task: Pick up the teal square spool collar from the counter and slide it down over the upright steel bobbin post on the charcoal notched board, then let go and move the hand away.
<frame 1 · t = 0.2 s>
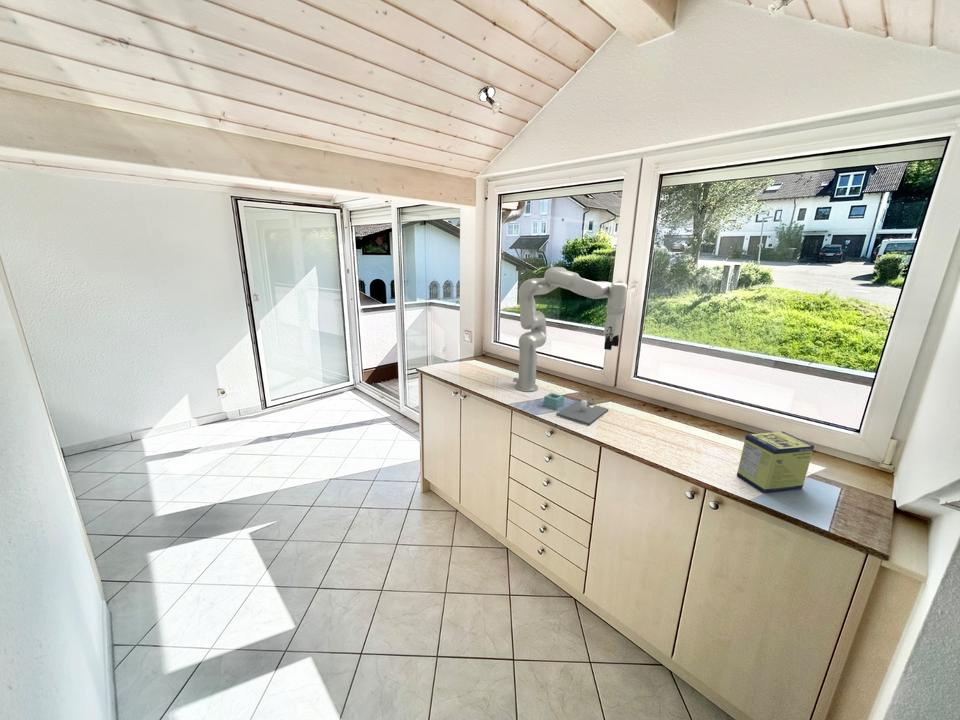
hand: (611, 347, 174), 31 cm above the worktop, tool pointing down, fingers open, 9 cm apart
spool collar: (553, 405, 185), on the worktop
protein box: (768, 482, 124), on the worktop
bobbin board: (582, 413, 176), on the worktop
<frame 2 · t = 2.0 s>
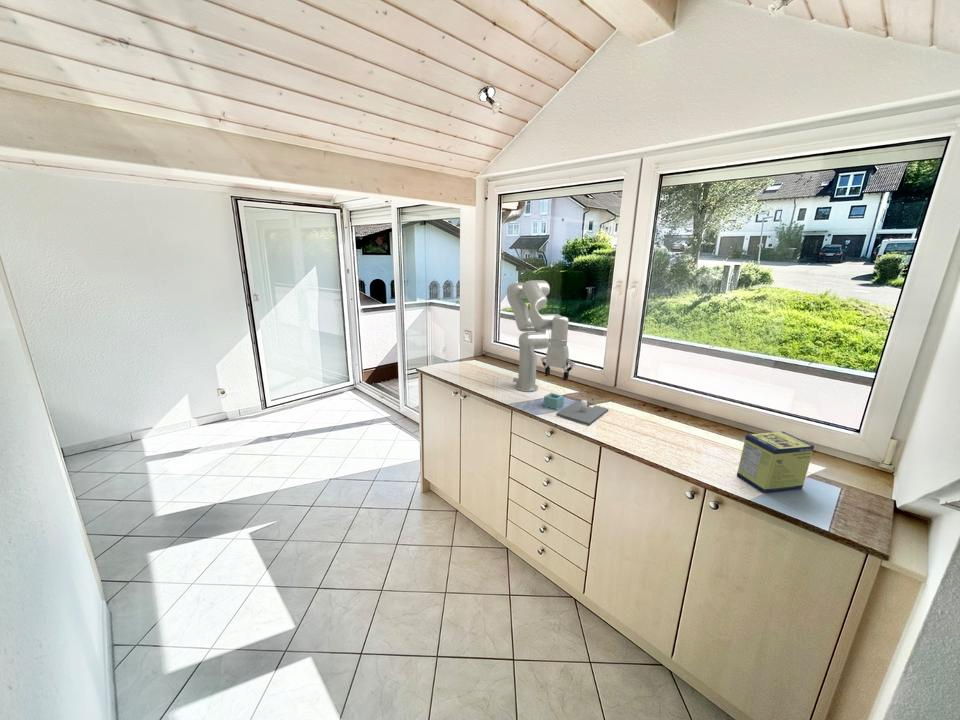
hand: (556, 377, 180), 15 cm above the worktop, tool pointing down, fingers open, 9 cm apart
nothing on the worktop moved.
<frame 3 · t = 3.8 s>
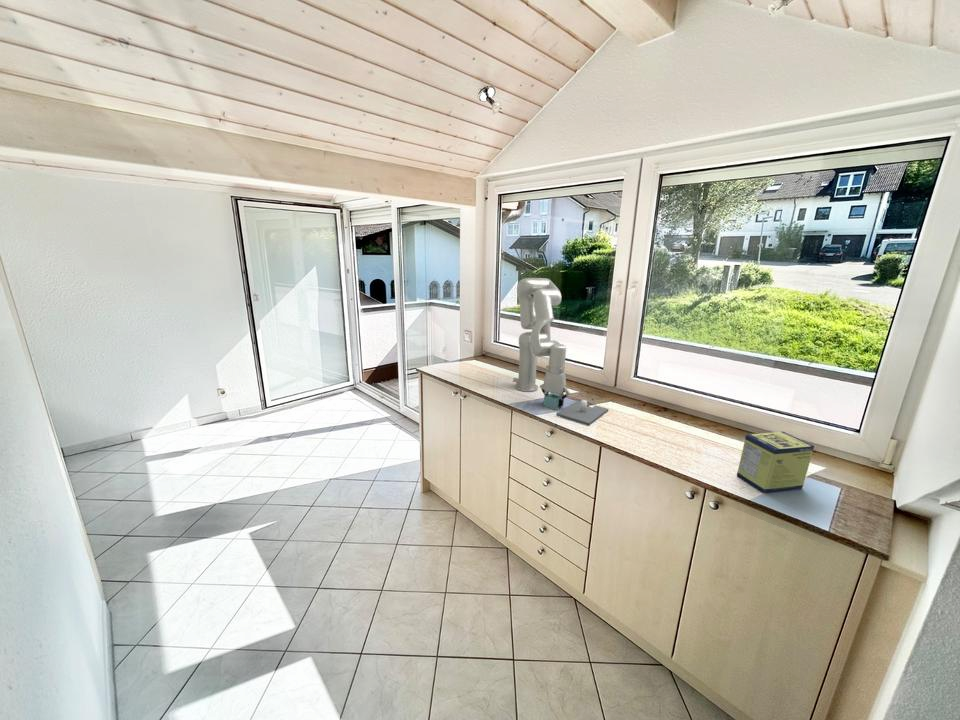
hand: (553, 404, 184), 1 cm above the worktop, tool pointing down, fingers closed on spool collar, 7 cm apart
spool collar: (553, 405, 185), on the worktop, touching gripper
everything else where it was.
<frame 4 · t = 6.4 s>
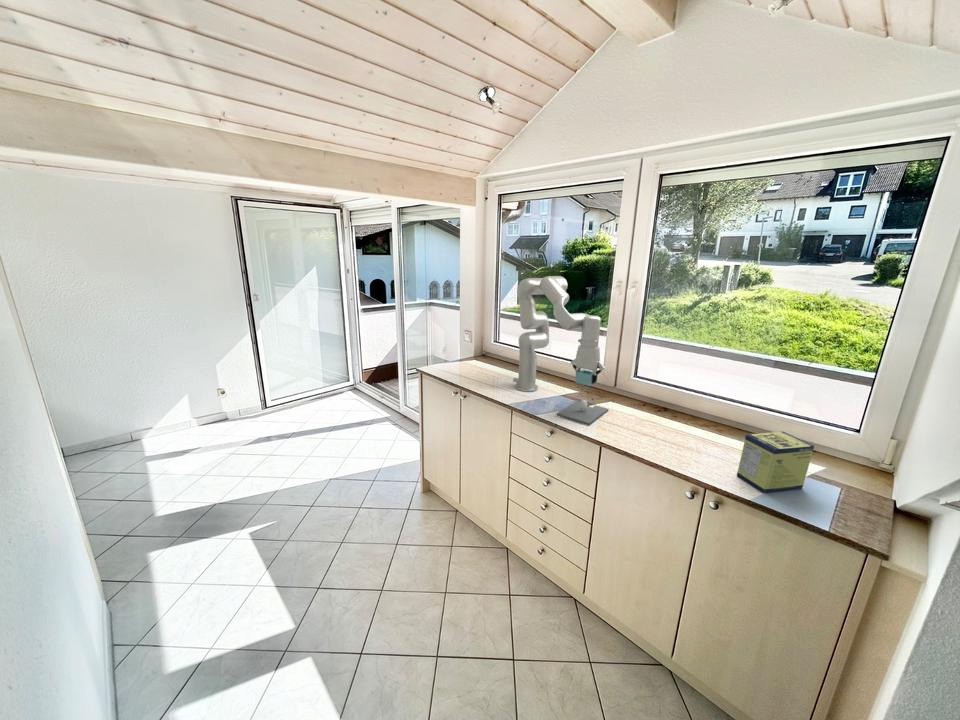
hand: (585, 381, 172), 16 cm above the worktop, tool pointing down, fingers closed on spool collar, 7 cm apart
spool collar: (585, 382, 172), point 15 cm above the worktop, touching gripper
everything else where it was.
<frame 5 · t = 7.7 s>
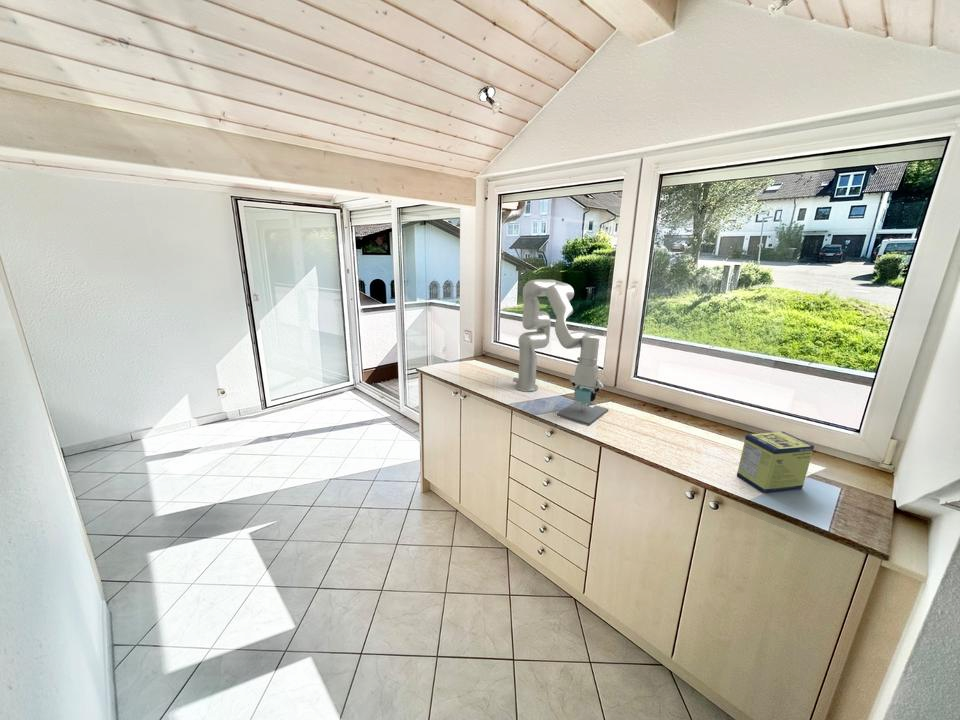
hand: (584, 398, 174), 8 cm above the worktop, tool pointing down, fingers closed on spool collar, 7 cm apart
spool collar: (584, 399, 174), point 7 cm above the worktop, touching gripper
everything else where it was.
when the fingers open (4 cm above the worktop, at t = 9.0 s): spool collar drops 2 cm, resting on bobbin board.
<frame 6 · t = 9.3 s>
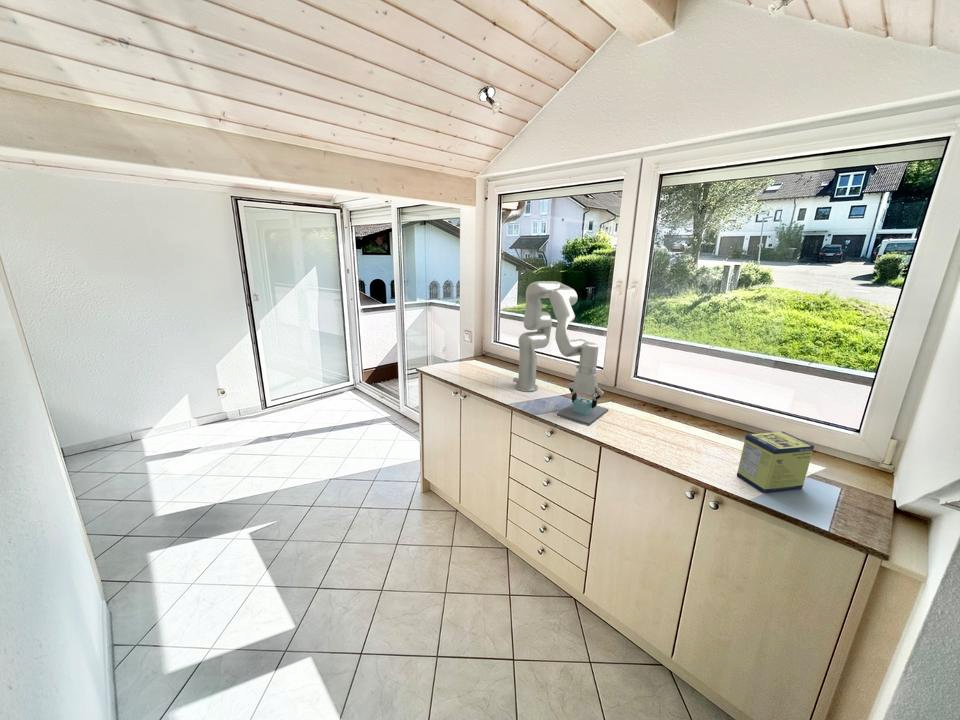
hand: (583, 404, 175), 4 cm above the worktop, tool pointing down, fingers open, 9 cm apart
spool collar: (582, 410, 176), point 1 cm above the worktop, touching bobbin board
everything else where it was.
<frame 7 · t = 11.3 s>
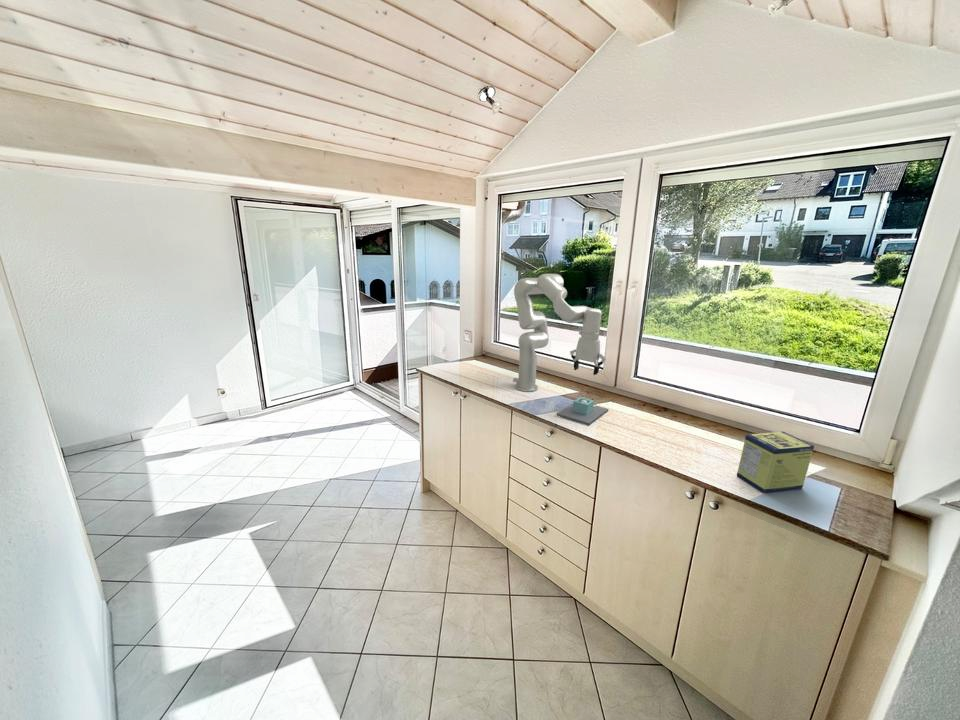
hand: (585, 371, 174), 19 cm above the worktop, tool pointing down, fingers open, 9 cm apart
nothing on the worktop moved.
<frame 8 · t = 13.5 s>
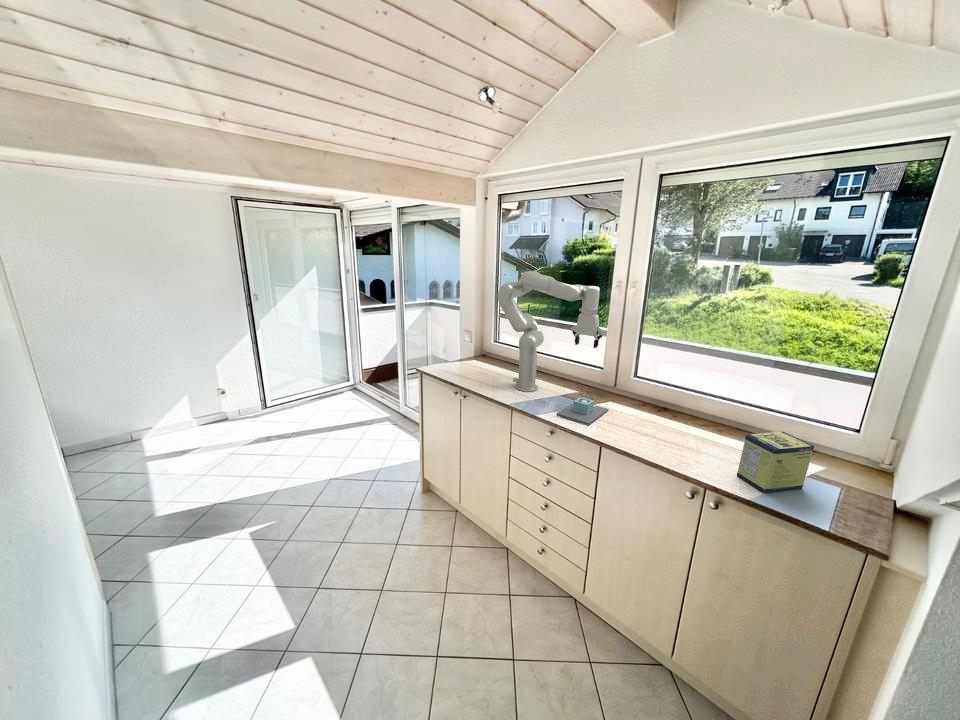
hand: (586, 345, 187), 28 cm above the worktop, tool pointing down, fingers open, 9 cm apart
nothing on the worktop moved.
at the end: spool collar 0.1 cm from the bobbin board (horizontally); spool collar point 1.2 cm above the worktop; the gripper is holding nothing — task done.
